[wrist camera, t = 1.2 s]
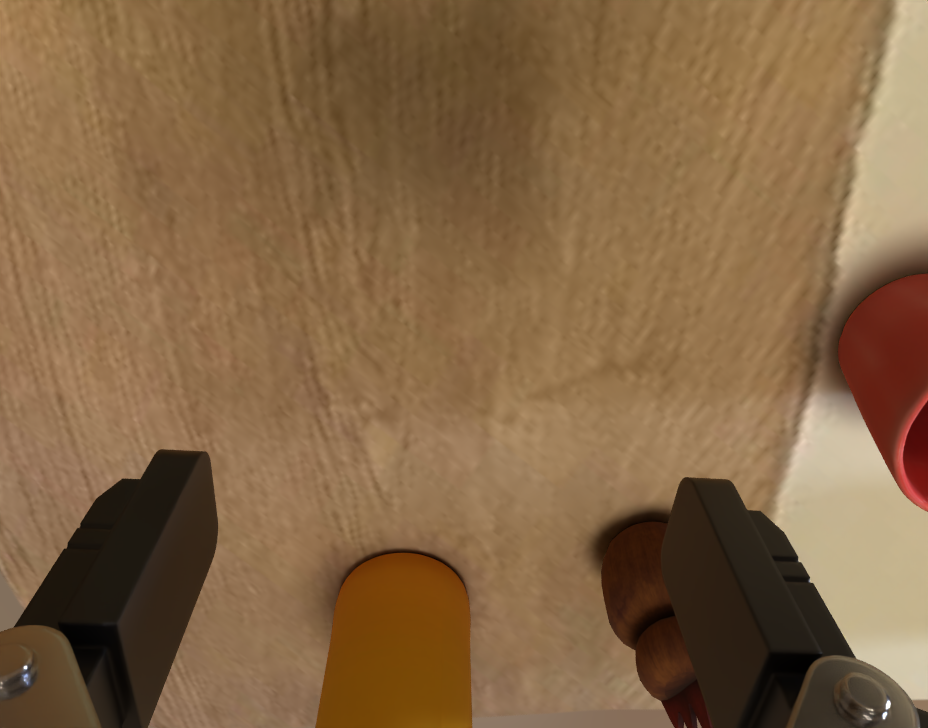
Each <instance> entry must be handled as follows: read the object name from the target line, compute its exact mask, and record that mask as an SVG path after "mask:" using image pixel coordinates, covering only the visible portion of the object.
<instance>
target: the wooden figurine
mask: <svg viewBox="0 0 928 728" xmlns="http://www.w3.org/2000/svg"><path fill="white" fill-rule="evenodd" d="M667 525H668V524H667V523H661V522H655V521H653V522H644V523H639V524H636V525H633V526H630V527H628V528H627V529H625V530H624V531H622V532H621V533H619V534H618V535H617V536H616V537H615V538H614V539H613V540H612V541H611V542H610V544H609V547H608V549H607V552H606V554H605V557H604V559H603V564H602V570H601V578H602V589H603V596H604V601H605V605H606V610H607V614H608V619H609V623H610V625H611V627H612V629H613V631H614V633H615V634H616V635H617V637H618V638H619V639H620V640H621V641H622V642H623V643H624V644H625V645H627V646H629V647H630V648H632V649H634V650H636V666H637V672H638V675H639V678H640V681H641V682H642V684H643V685H644V687H645V688H646V690H647V691H648V692H649V693H650V694H651V695H652V696H653V697H654V698H656V699H658V700H660V701H661V702H662V704H663V706H664V708H665V710H666V712H667V714H668V716H669V718H670V720H671V722H672V724H673V726H674V727H675V728H684V722H685V724H686V726H687V728H697V718H698V720H699V722H700V725H701V726H702V728H713V725H712V722H711V719H710V716H709V713H708V710H707V707H706V704H705V701H704V698H703V696H702V693H701V690H700V687H699V684H698V681H697V678H696V675H695V672H694V669H693V666H692V663H691V660H690V657H689V654H688V651H687V648H686V645H685V642H684V639H683V636H682V633H681V630H680V627H679V624H678V621H677V619H676V616H675V613H674V610H673V607H672V604H671V601H670V598H669V595H668V592H667V589H666V586H665V583H664V580H663V575H662V569H661V549H662V543H663V539H664V536H665V532H666V529H667ZM696 716H697V717H696Z"/></svg>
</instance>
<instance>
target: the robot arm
mask: <svg viewBox="0 0 928 728" xmlns="http://www.w3.org/2000/svg"><path fill="white" fill-rule="evenodd" d="M80 524H81V526H80V528H77V530H76V531H75V533H74V534H73V536H72V537H71V539H70V540H69V542H68V546H67V549H64V550H63V551H62V553H61V554H60V556H59V558H58V559H57V561H56V562H55V564H54V565H53V567H52V568H51V570H50V572H49V573H48V575H47V576H46V578H45V579H44V581H43V583H42V584H41V586H40V587H39V589H38V590H37V592H36V593H35V595H34V597H33V598H32V600H31V601H30V603H29V604H28V606H27V607H26V609H25V611H24V612H23V614H22V615H21V617H20V619H19V620H18V622H17V623H16V625H15V626H14V627H13V628H10V629H7V630H4V631H1V632H0V728H148V725H149V723H150V720H151V718H152V715H153V712H154V710H155V707H156V705H157V702H158V700H159V697H160V694H161V692H162V689H163V687H164V684H165V681H166V679H167V676H168V674H169V671H170V669H171V666H172V663H173V661H174V658H175V656H176V653H177V651H178V648H179V645H180V643H181V640H182V638H183V635H184V632H185V630H186V627H187V625H188V622H189V620H190V617H191V614H192V612H193V609H194V607H195V604H196V601H197V599H198V596H199V594H200V591H201V589H202V586H203V583H204V581H205V578H206V576H207V573H208V570H209V568H210V565H211V563H212V560H213V557H214V554H215V549H216V544H217V536H218V519H217V510H216V502H215V494H214V486H213V477H212V469H211V462H210V457H209V455H208V453H207V452H203V451H184V450H164V449H161V450H159V451H157V452H156V454H155V455H154V457H153V458H152V460H151V462H150V464H149V465H148V467H147V469H146V470H145V472H144V474H143V476H142V477H141V479H121V480H120V481H119V482H118V483H116V484H115V485H114V486H112V487H111V488H110V489H108V490H107V491H106V492H105V493H103V494H102V495H101V496H99V497H98V498H97V499H96V500H95V501H94V503H93V505H92V506H91V508H90V509H89V511H88V512H87V514H86V515H85V517H84V519H83V520H82V522H81V523H80ZM661 569H662V575H663V580H664V583H665V586H666V589H667V592H668V595H669V598H670V601H671V604H672V607H673V610H674V613H675V616H676V619H677V621H678V624H679V627H680V630H681V633H682V636H683V639H684V642H685V645H686V648H687V651H688V654H689V657H690V660H691V663H692V666H693V669H694V672H695V675H696V678H697V681H698V684H699V687H700V690H701V693H702V696H703V698H704V701H705V704H706V707H707V710H708V713H709V716H710V719H711V722H712V725H713V728H928V712H926V711H923V710H920V709H918V708H916V707H915V706H914V704H913V702H912V700H911V699H910V698H909V696H908V695H907V694H906V692H905V691H904V690H903V689H902V688H901V687H900V686H899V685H898V684H897V683H896V682H895V681H894V680H893V679H892V678H890V677H889V676H888V675H886V674H885V673H884V672H882V671H881V670H879V669H877V668H876V667H874V666H872V665H870V664H868V663H866V662H863V661H861V660H858V659H856V657H855V656H854V654H853V652H852V650H851V649H850V647H849V645H848V643H847V642H846V640H845V638H844V636H843V635H842V633H841V631H840V629H839V628H838V626H837V624H836V622H835V621H834V619H833V617H832V615H831V614H830V612H829V610H828V608H827V607H826V605H825V603H824V601H823V600H822V598H821V596H820V594H819V593H818V591H817V589H816V587H815V586H814V584H813V583H810V577H809V575H808V573H807V572H806V570H805V568H804V566H803V565H802V563H801V562H798V556H797V554H796V552H795V551H794V549H793V547H792V545H791V544H790V542H789V540H788V538H787V537H786V535H785V533H784V532H783V531H782V530H781V529H780V528H778V527H777V526H776V525H775V524H774V523H773V522H772V521H771V520H770V519H769V518H767V517H766V516H765V515H764V514H763V513H762V512H761V511H751V510H747V509H746V507H745V505H744V503H743V501H742V499H741V497H740V496H739V494H738V492H737V490H736V488H735V486H734V485H733V483H732V482H731V481H730V480H727V479H708V478H689V477H686V478H683V479H682V481H681V482H680V484H679V487H678V490H677V494H676V497H675V501H674V504H673V508H672V511H671V515H670V518H669V522H668V525H667V529H666V532H665V536H664V539H663V543H662V549H661Z"/></svg>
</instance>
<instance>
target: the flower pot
mask: <svg viewBox="0 0 928 728" xmlns="http://www.w3.org/2000/svg"><path fill="white" fill-rule="evenodd" d="M838 359H839V363H840V367H841V369H842V372H843V374H844V376H845V379H846V381H847V383H848V385H849V388H850V390H851V392H852V394H853V397H854V399H855V401H856V403H857V406H858V408H859V410H860V412H861V415H862V417H863V419H864V421H865V423H866V425H867V427H868V429H869V431H870V433H871V435H872V437H873V439H874V441H875V443H876V445H877V447H878V449H879V451H880V453H881V455H882V457H883V459H884V461H885V463H886V465H887V467H888V469H889V470H890V472H891V474H892V476H893V478H894V480H895V481H896V483H897V485H898V486H899V488H900V490H901V491H902V492H903V494H904V495H905V496H906V497H907V498H908V499H909V500H910V501H912V502H913V503H914V504H915V505H917V506H918V507H920V508H922V509H923V510H925V511H927V512H928V274H917V275H911V276H907V277H903V278H900V279H898V280H895V281H892V282H890V283H888V284H886V285H884V286H883V287H881V288H879V289H878V290H876V291H875V292H873V293H872V294H871V295H869V296H868V297H867V298H866V299H865V300H864V301H863V302H862V303H860V304H859V305H858V307H857V308H856V309H855V310H854V311H853V313H852V314H851V315H850V317H849V319H848V320H847V322H846V324H845V326H844V329H843V332H842V335H841V337H840V340H839V345H838Z"/></svg>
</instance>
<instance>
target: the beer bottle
mask: <svg viewBox="0 0 928 728" xmlns="http://www.w3.org/2000/svg"><path fill="white" fill-rule="evenodd" d="M315 728H472V702H471V665H470V607H469V600H468V596H467V593H466V590H465V587H464V585H463V583H462V582H461V580H460V579H459V577H458V576H457V575H456V574H455V573H454V572H453V571H452V570H451V569H450V568H449V567H447V566H446V565H444V564H443V563H441V562H439V561H437V560H435V559H433V558H430V557H427V556H424V555H420V554H413V553H392V554H385V555H382V556H378V557H375V558H373V559H370V560H368V561H366V562H364V563H363V564H361V565H360V566H358V567H357V568H356V569H355V570H354V571H353V572H352V573H351V574H350V575H349V576H348V577H347V578H346V580H345V582H344V583H343V585H342V587H341V589H340V592H339V595H338V599H337V602H336V606H335V611H334V618H333V626H332V634H331V641H330V647H329V652H328V658H327V664H326V670H325V675H324V681H323V687H322V693H321V698H320V704H319V710H318V716H317V722H316V727H315Z"/></svg>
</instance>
